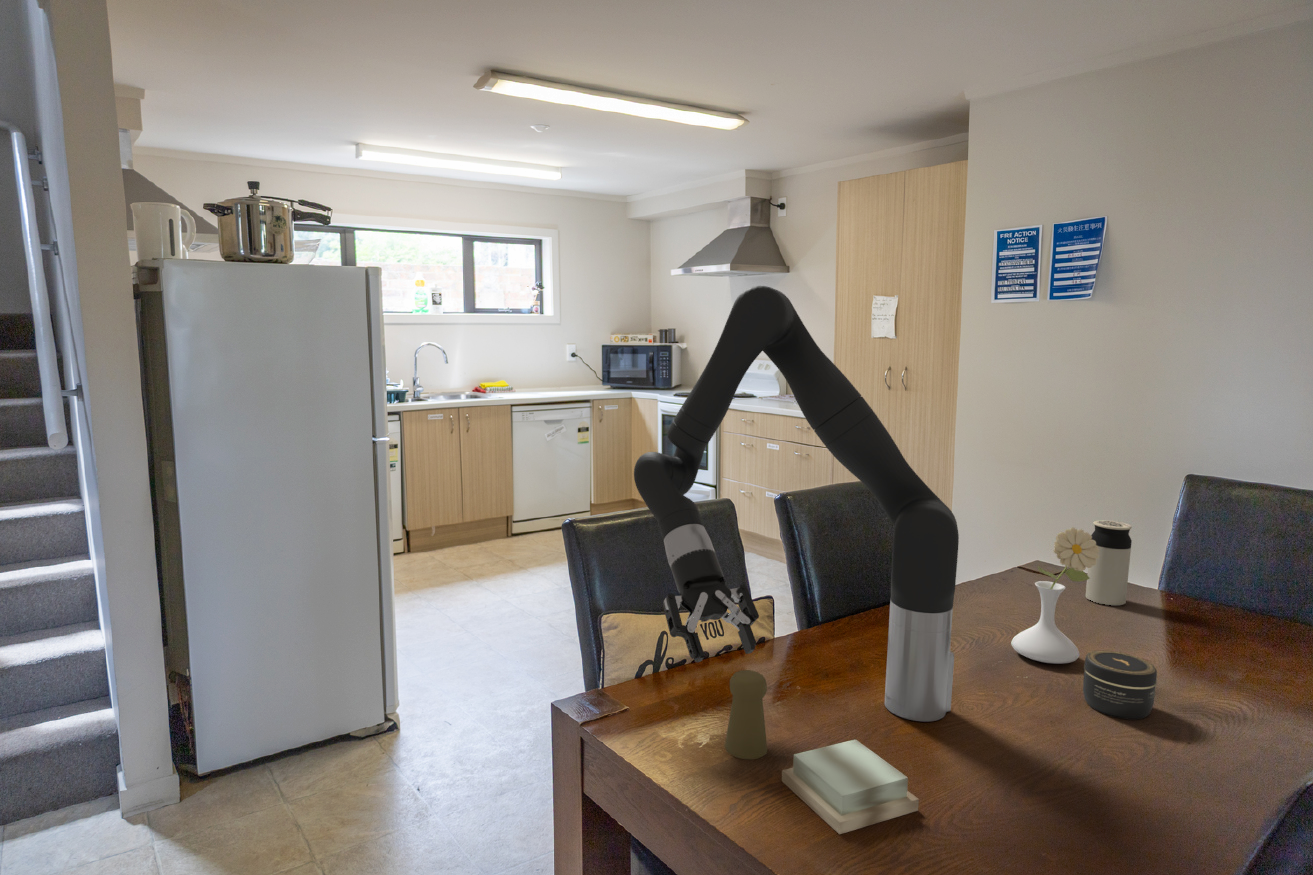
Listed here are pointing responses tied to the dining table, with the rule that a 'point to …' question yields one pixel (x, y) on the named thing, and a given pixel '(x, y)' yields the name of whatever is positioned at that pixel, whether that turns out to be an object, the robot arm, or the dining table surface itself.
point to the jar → (1119, 684)
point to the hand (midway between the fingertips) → (726, 655)
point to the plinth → (849, 786)
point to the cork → (747, 716)
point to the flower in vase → (1045, 636)
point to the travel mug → (1110, 563)
